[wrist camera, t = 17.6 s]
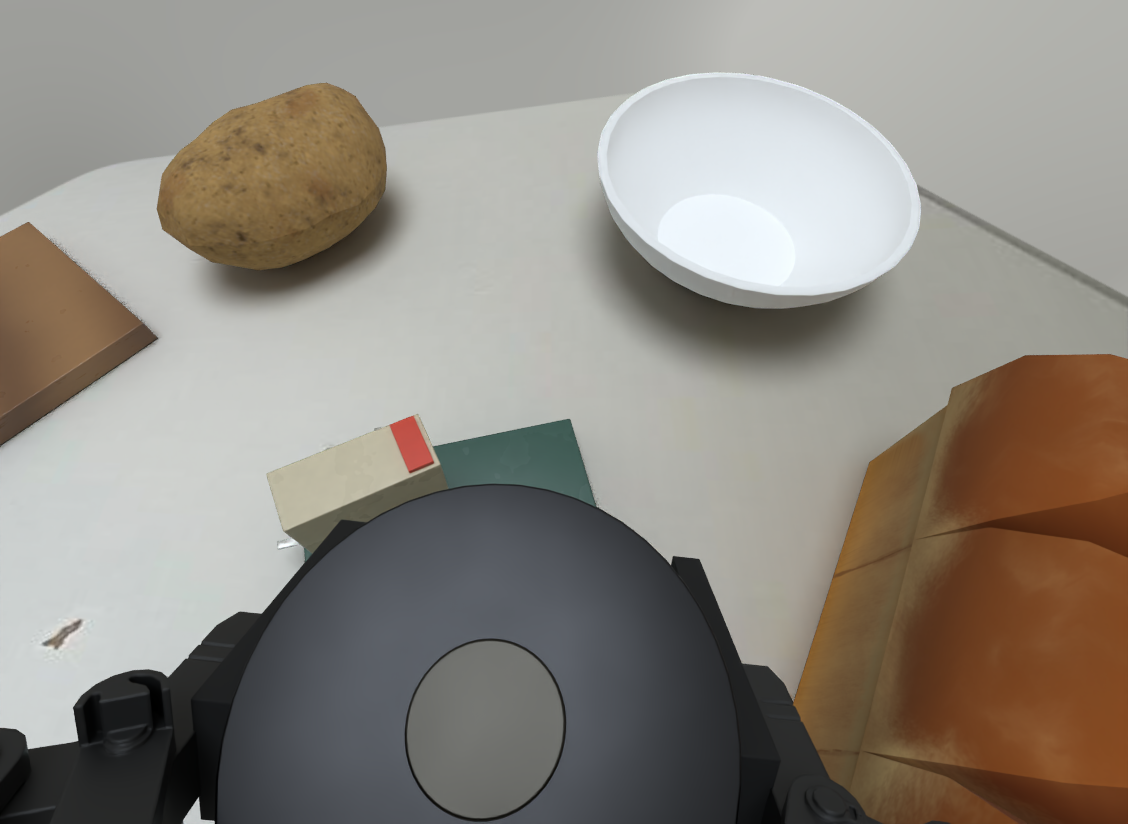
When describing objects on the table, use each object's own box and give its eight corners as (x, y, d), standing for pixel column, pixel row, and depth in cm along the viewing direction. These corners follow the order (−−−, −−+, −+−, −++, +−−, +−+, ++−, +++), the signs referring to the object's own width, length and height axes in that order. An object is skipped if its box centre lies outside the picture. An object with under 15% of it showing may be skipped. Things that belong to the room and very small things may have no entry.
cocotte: (378, 967, 14) (174, 1340, 6) (333, 621, 18) (168, 534, 9) (688, 831, 16) (886, 963, 7) (589, 543, 20) (644, 410, 11)
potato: (167, 253, 37) (83, 143, 30) (341, 152, 42) (305, 40, 35) (259, 337, 34) (192, 238, 27) (432, 217, 40) (412, 110, 33)
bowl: (902, 240, 42) (966, 160, 36) (783, 423, 34) (840, 359, 28) (679, 125, 46) (702, 37, 40) (528, 260, 38) (530, 176, 32)
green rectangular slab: (309, 923, 22) (289, 942, 20) (289, 464, 30) (274, 448, 29) (674, 799, 24) (687, 806, 23) (560, 410, 33) (562, 391, 31)
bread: (866, 453, 33) (1088, 283, 20) (1088, 562, 31) (1501, 449, 18) (703, 958, 22) (963, 1304, 9) (1031, 1185, 20) (2011, 2087, 7)
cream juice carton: (335, 572, 26) (280, 529, 20) (319, 525, 27) (262, 471, 21) (457, 516, 28) (439, 462, 22) (438, 473, 29) (416, 410, 23)
